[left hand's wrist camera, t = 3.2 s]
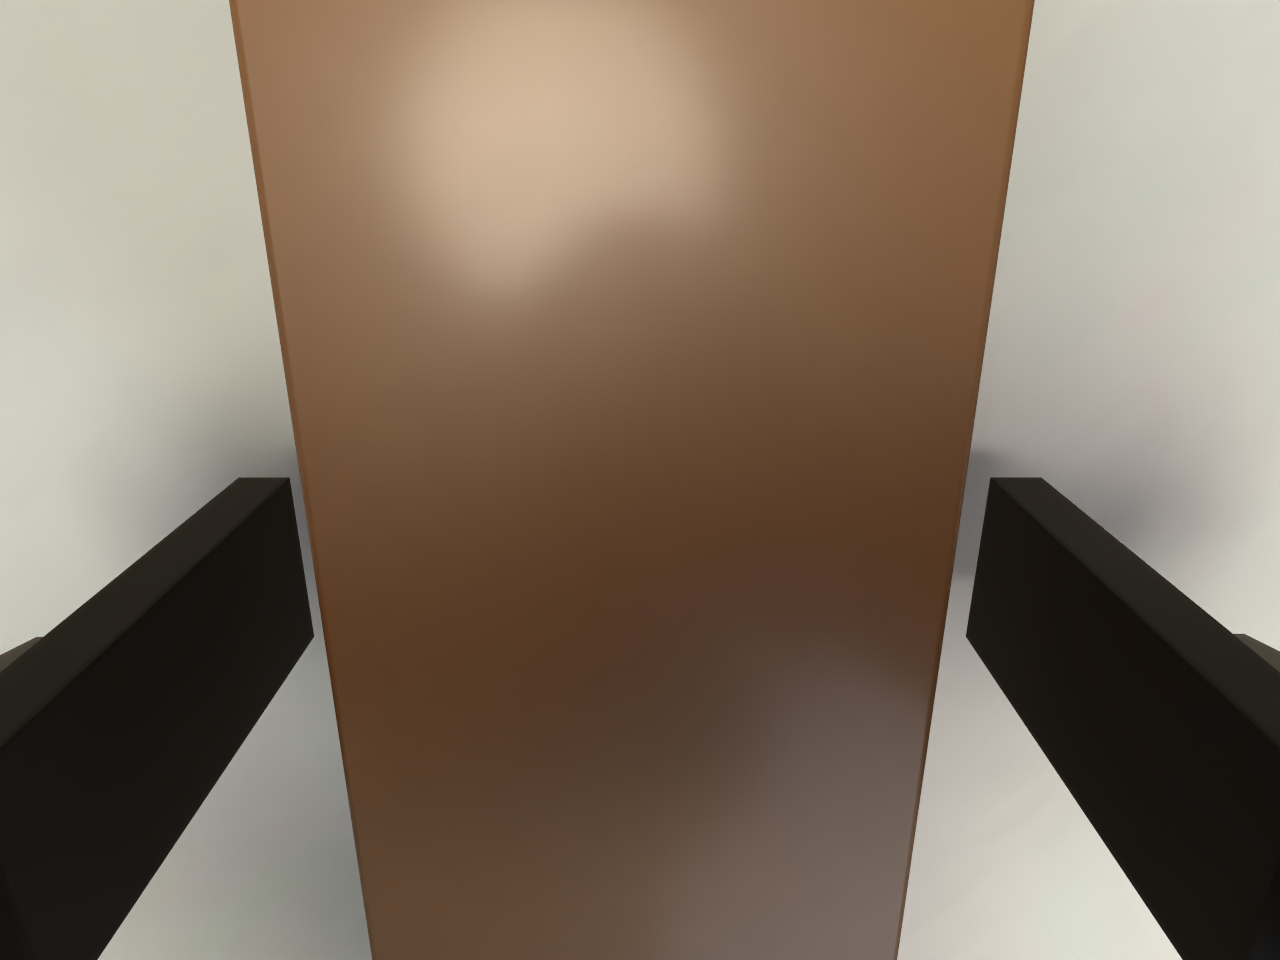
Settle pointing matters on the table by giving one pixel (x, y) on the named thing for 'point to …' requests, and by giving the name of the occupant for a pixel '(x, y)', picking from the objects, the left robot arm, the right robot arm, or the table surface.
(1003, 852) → the table surface
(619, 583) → the bar
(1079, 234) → the table surface
